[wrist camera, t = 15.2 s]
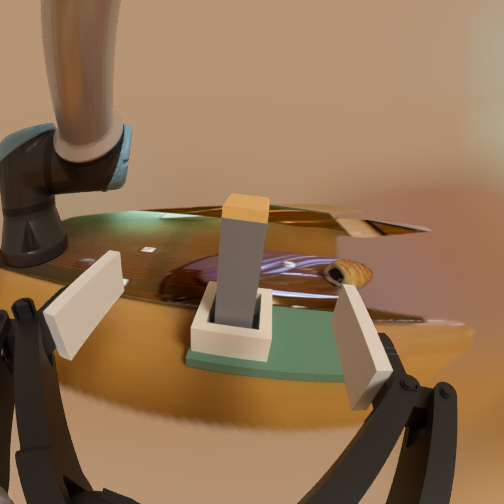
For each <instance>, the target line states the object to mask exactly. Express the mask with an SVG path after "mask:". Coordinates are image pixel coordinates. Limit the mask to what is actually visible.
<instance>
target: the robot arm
mask: <svg viewBox="0 0 504 504" xmlns="http://www.w3.org/2000/svg"><path fill="white" fill-rule="evenodd" d="M120 2H121V0H41V22H42V23H41V24H42V38H43V47H44V56H45V64H46V70H47V77H48V83H49V88H50V93H51V98H52V103H53V107H54V112H55V116H56V120H57V124H58V127H57V129H56V127H55V125H54V124H53V123H46V124H41V125H37V126H32V127H29V128H25V129H22V130H19V131H17V132H14V133H12V134H10V135H8V136H6V137H5V138H4V139H3V140H2V142H1V144H0V193H1V202H2V211H3V229H2V246H1V251H2V256H3V260H4V262H5V263H6V264H7V265H9V266H12V267H29V266H34V265H38V264H41V263H44V262H47V261H49V260H51V259H53V258H55V257H57V256H58V255H60V254H61V253H62V252H63V251H64V250H65V249H66V248H67V246H68V240H67V233H66V230H65V229H64V228H63V225H62V222H61V219H60V217H59V214H58V212H57V209H56V206H55V195H56V194H66V193H79V192H92V191H102V192H106V191H108V190H116V189H120V188H121V187H122V186H123V185H124V183H125V180H126V175H127V168H128V160H129V154H130V146H131V136H132V128H131V126H130V125H126V124H123V123H122V119H121V117H120V115H119V114H118V113H117V112H116V111H115V110H113V71H114V53H115V41H116V31H117V22H118V15H119V7H120ZM123 292H124V285H123V277H122V268H121V258H120V252H117V251H111V250H109V251H108V252H107V253H106V254H105V255H103V256H102V257H101V258H100V259H99V260H98V261H97V262H95V263H94V264H93V265H92V266H91V267H90V268H89V269H87V270H86V271H85V272H84V273H83V274H82V275H81V276H80V277H78V278H77V279H76V280H75V281H74V282H73V283H72V284H71V285H70V286H69V285H67V286H65V287H63V288H61V289H60V290H59V291H58V292H57V293H55V295H53V296H52V297H51V298H50V300H48V301H47V302H46V303H45V304H44V305H43V306H42V307H41V308H40V309H39V310H38V311H36V308H35V305H34V302H33V300H32V299H30V298H22V299H19V300H17V301H15V302H14V303H13V305H12V307H11V309H12V312H13V315H14V317H15V319H10V318H9V316H8V313H7V311H5V310H0V504H14V503H13V501H12V500H11V499H9V496H8V489H9V478H10V477H9V476H10V443H11V430H12V429H11V428H12V420H13V412H14V405H15V409H16V418H17V419H16V420H17V428H18V435H19V441H20V450H19V451H16V454H15V459H16V465H17V468H18V474H19V477H20V482H21V485H22V489H23V492H24V496H25V499H26V502H27V504H140V503H138V502H136V501H134V500H133V499H131V498H128V497H126V496H123V495H120V494H117V493H115V492H113V491H110V490H108V489H105V488H103V491H102V492H101V491H93V489H92V487H91V485H90V484H89V482H88V480H87V479H86V477H85V476H84V474H83V472H82V470H81V468H80V465H79V462H78V459H77V456H76V453H75V450H74V447H73V443H72V440H71V436H70V433H69V430H68V426H67V422H66V418H65V414H64V409H63V404H62V400H61V395H60V389H59V384H58V377H57V371H56V363H55V357H54V354H53V351H54V350H55V348H57V351H58V353H59V355H60V356H61V357H63V358H66V359H68V360H70V361H71V360H72V359H73V357H74V356H75V355H76V353H77V352H78V350H79V349H80V348H81V346H82V345H83V343H84V342H85V341H86V339H87V338H88V337H89V335H90V334H91V333H92V331H93V330H94V329H95V327H96V326H97V325H98V323H99V322H100V321H101V319H102V318H103V317H104V316H105V314H106V313H107V312H108V310H109V309H110V308H111V307H112V305H113V304H114V303H115V302H116V300H117V299H118V298H119V297H120V295H121V294H122V293H123ZM330 323H331V327H332V331H333V335H334V339H335V343H336V346H337V350H338V354H339V359H340V363H341V367H342V371H343V375H344V380H345V384H346V388H347V393H348V397H349V402H350V407H351V410H366V409H367V408H368V407H369V405H370V404H371V403H372V405H373V411H372V412H371V413H370V414H369V416H368V417H367V418H366V419H365V421H364V424H363V425H362V427H361V428H360V430H359V431H358V432H357V434H356V435H355V437H354V438H353V439H352V441H351V442H350V444H349V445H348V446H347V448H346V449H345V450H344V451H343V453H342V454H341V455H340V456H339V458H338V459H337V460H336V461H335V463H334V464H333V465H332V466H331V467H330V469H329V470H328V471H327V472H326V473H325V474H324V476H323V477H322V478H321V479H320V480H319V481H318V482H317V483H316V485H315V486H314V487H313V488H312V489H311V490H310V491H309V492H308V493H307V494H306V495H305V496H304V497H303V498H302V499H301V500H300V501H299V502H298V503H297V504H358V503H359V501H360V500H361V498H362V497H363V496H364V494H365V493H366V491H367V490H368V488H369V487H370V486H371V484H372V483H373V481H374V480H375V478H376V476H377V475H378V473H379V471H380V470H381V468H382V467H383V465H384V464H385V462H386V460H387V458H388V457H389V455H390V453H391V451H392V449H393V448H394V446H395V444H396V442H397V440H398V438H399V436H400V434H401V432H402V430H403V428H404V427H405V433H404V438H403V443H402V448H401V452H400V456H399V460H398V464H397V468H396V472H395V475H394V479H393V483H392V486H391V489H390V493H389V495H388V498H387V501H386V504H449V502H450V497H451V491H452V484H453V478H454V469H455V460H456V447H457V394H456V391H455V389H454V388H453V387H452V386H451V385H450V384H448V383H446V382H439V383H437V384H436V386H435V387H434V388H433V389H432V388H427V387H422V386H420V384H419V382H418V381H417V379H416V378H414V377H413V376H411V375H408V374H406V372H405V370H404V367H403V365H402V363H401V361H400V358H399V356H398V354H397V352H396V350H395V349H394V345H393V343H392V341H391V339H390V338H389V337H388V336H387V335H386V334H385V333H377V331H376V329H375V327H374V325H373V322H372V320H371V318H370V316H369V314H368V312H367V309H366V307H365V305H364V303H363V301H362V299H361V297H360V295H359V293H358V291H357V289H356V287H355V285H348V284H343V285H342V288H341V291H340V294H339V297H338V300H337V303H336V306H335V309H334V312H333V315H332V318H331V321H330ZM1 350H2V351H3V353H2V355H1Z"/></svg>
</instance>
